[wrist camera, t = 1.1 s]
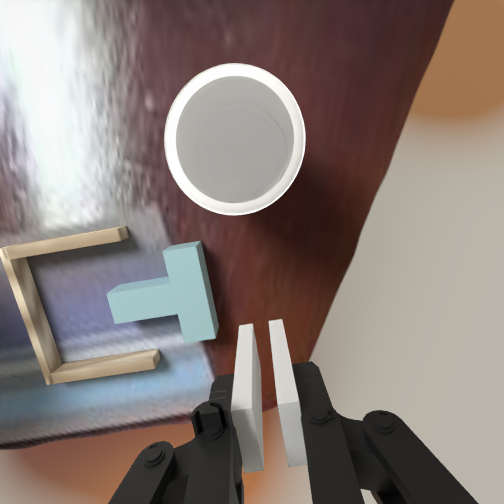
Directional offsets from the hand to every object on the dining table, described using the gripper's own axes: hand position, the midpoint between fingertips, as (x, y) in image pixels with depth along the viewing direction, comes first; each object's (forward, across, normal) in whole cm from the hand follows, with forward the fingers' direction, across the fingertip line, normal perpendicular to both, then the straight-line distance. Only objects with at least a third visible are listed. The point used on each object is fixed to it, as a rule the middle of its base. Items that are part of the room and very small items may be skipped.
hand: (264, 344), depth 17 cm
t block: (+23, -13, -3) cm, 26 cm away
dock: (+22, -23, -3) cm, 32 cm away
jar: (+23, 0, +12) cm, 26 cm away
